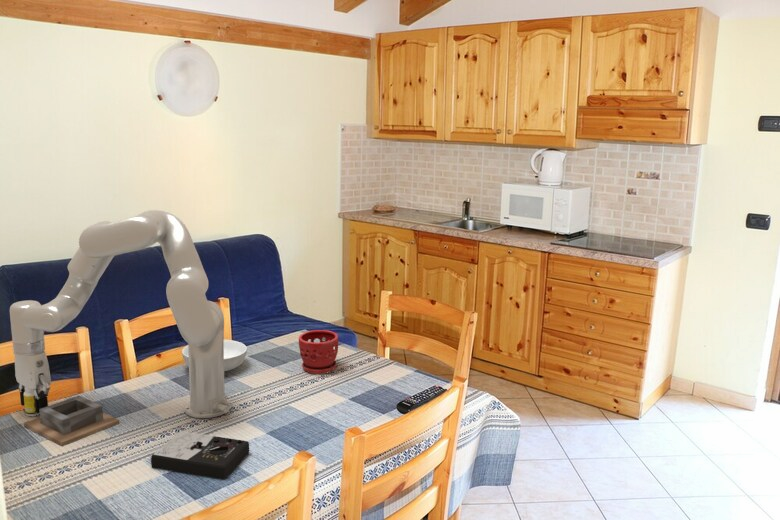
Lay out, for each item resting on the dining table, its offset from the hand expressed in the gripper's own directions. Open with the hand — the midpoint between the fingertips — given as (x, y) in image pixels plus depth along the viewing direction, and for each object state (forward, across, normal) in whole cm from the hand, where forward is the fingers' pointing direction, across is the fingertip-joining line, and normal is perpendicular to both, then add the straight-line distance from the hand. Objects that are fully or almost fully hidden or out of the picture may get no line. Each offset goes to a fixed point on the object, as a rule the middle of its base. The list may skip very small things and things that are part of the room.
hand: (34, 406), depth 177 cm
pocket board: (+2, -15, -2) cm, 15 cm away
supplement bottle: (+2, 0, 0) cm, 2 cm away
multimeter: (+2, -57, -10) cm, 58 cm away
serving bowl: (+2, -13, -53) cm, 55 cm away
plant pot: (+2, -41, -73) cm, 84 cm away
